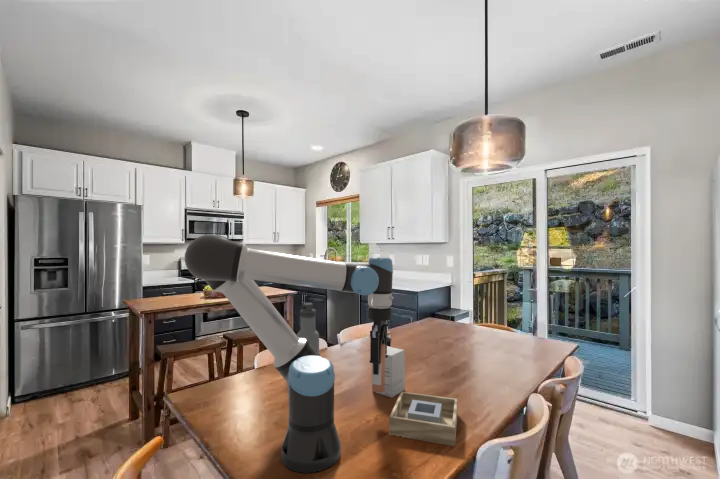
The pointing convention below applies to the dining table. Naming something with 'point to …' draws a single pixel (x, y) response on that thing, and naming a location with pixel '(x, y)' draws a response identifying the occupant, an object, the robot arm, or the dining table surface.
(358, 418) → the dining table surface
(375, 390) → the peg
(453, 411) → the crate
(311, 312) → the water bottle
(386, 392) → the supplement box
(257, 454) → the dining table surface
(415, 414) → the socket
